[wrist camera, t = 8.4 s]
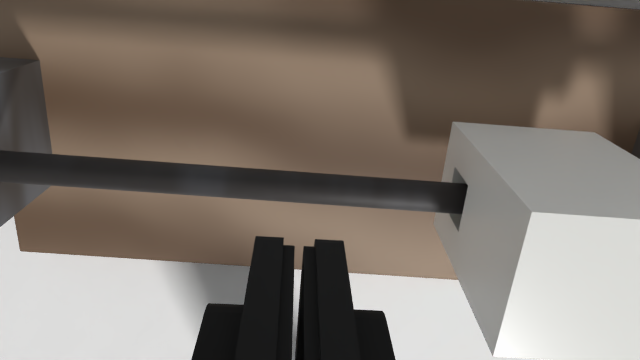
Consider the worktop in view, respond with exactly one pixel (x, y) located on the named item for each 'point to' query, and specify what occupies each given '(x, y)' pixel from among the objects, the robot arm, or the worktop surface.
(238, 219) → the cord rack
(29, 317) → the worktop surface
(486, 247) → the sleeve
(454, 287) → the worktop surface
